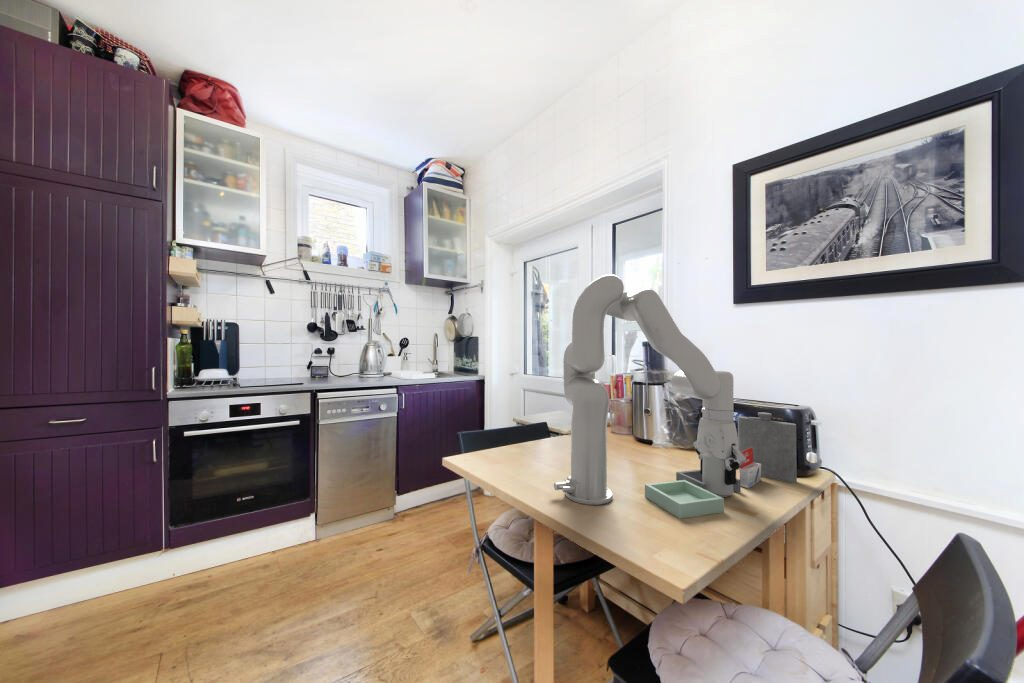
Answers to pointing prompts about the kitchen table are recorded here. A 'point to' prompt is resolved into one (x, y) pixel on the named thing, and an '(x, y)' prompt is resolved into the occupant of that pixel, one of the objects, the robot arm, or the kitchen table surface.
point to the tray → (684, 498)
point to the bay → (696, 479)
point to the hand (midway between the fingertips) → (717, 478)
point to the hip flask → (770, 445)
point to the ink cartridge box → (749, 470)
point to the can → (715, 475)
